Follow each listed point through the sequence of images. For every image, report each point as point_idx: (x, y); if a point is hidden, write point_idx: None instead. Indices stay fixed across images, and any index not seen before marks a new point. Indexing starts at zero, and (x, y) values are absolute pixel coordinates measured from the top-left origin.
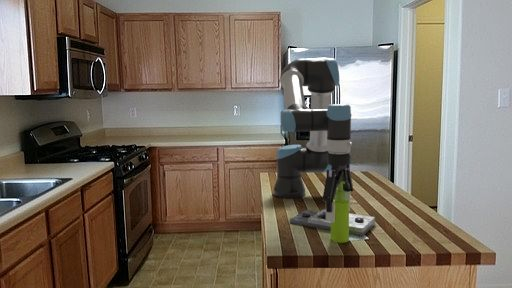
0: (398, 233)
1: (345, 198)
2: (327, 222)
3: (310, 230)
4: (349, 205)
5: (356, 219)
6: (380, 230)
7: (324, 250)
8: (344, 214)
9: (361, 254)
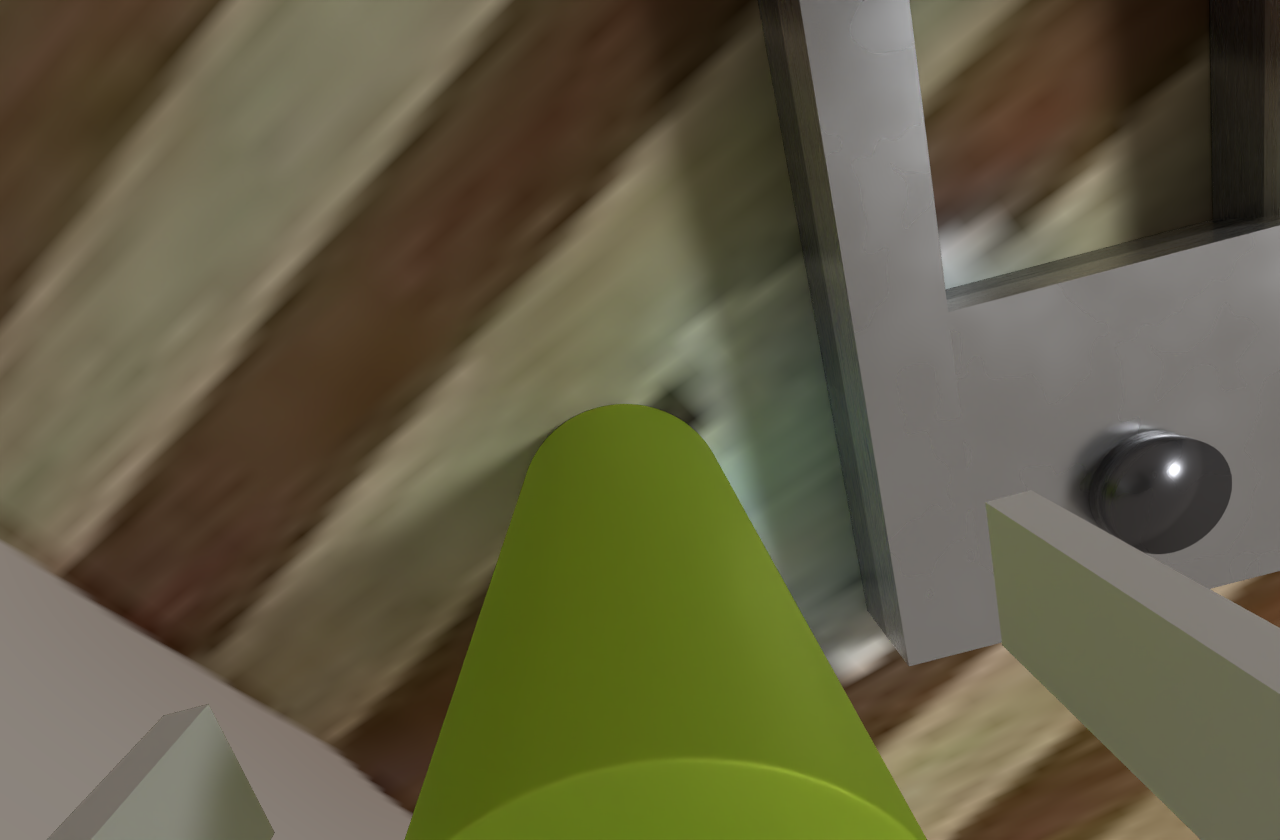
0: None
1: (1238, 777)
2: (826, 182)
3: (617, 15)
4: (1093, 722)
5: (1128, 483)
6: None
7: (256, 574)
8: None
9: None
